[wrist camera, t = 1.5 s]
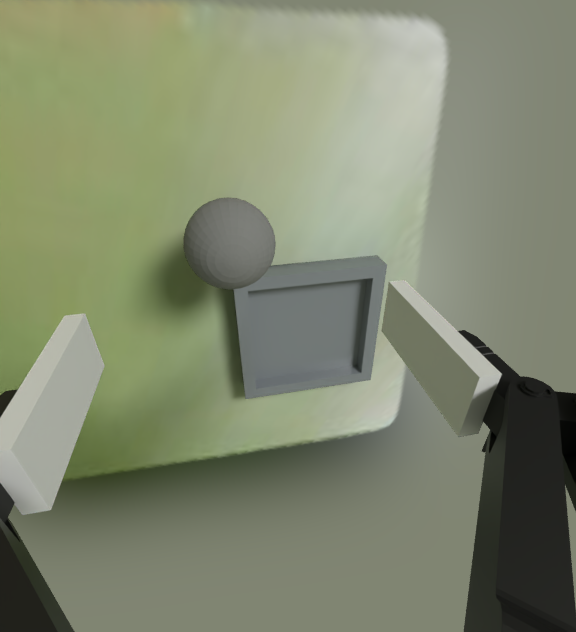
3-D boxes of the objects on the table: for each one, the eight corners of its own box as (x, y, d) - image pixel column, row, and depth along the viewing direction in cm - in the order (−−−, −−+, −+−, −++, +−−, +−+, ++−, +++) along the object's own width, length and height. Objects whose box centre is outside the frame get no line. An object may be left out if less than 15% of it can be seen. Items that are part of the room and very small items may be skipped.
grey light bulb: (245, 257, 32) (260, 316, 24) (178, 234, 30) (168, 290, 22) (271, 193, 30) (298, 234, 21) (200, 163, 27) (199, 195, 19)
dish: (243, 384, 40) (245, 398, 38) (231, 269, 32) (232, 280, 31) (363, 367, 42) (370, 379, 40) (377, 255, 35) (387, 264, 33)
